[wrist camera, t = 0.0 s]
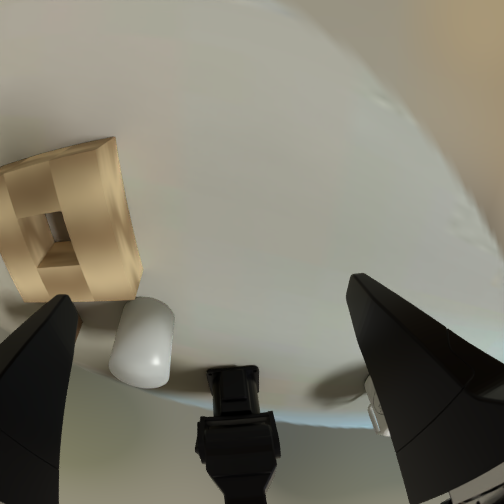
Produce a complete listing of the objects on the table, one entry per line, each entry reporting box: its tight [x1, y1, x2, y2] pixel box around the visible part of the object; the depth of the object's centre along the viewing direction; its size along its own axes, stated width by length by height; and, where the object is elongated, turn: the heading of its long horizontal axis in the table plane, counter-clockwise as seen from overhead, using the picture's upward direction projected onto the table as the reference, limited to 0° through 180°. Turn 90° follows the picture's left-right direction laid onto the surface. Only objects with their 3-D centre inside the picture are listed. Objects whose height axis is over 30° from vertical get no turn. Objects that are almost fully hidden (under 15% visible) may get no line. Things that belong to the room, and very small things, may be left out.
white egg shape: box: [109, 297, 174, 388], centre depth 26 cm, size 6×6×7 cm
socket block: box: [0, 137, 143, 302], centre depth 20 cm, size 12×12×4 cm
